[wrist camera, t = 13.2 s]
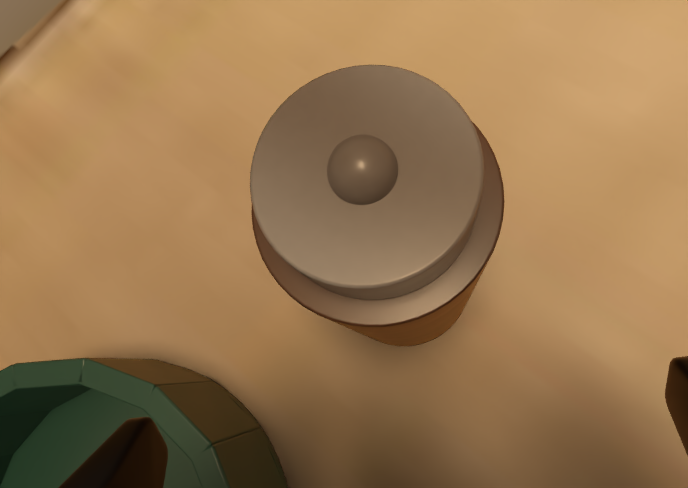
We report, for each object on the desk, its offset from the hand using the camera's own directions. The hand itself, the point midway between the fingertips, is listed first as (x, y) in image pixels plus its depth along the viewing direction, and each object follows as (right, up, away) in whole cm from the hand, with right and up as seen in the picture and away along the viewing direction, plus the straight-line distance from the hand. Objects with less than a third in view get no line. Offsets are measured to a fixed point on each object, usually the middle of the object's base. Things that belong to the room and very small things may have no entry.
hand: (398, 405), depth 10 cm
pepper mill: (+1, +1, +11) cm, 12 cm away
